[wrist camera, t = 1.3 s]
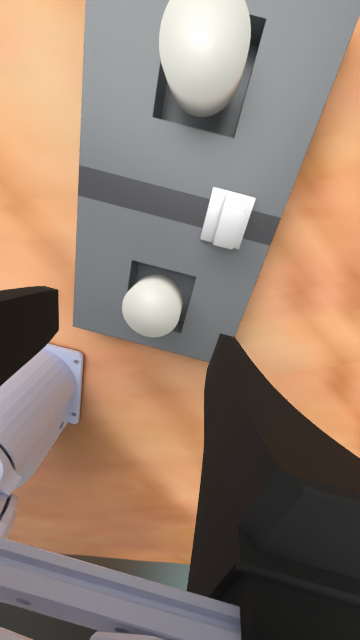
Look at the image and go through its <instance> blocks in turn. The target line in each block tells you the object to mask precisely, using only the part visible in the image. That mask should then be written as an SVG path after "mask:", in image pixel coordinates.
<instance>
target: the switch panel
mask: <svg viewBox="0 0 360 640" xmlns="http://www.w3.org/2000/svg"><path fill="white" fill-rule="evenodd" d="M169 1H170V0H86V7H85V32H84V57H83V83H82V108H81V133H80V159H79V184H78V209H77V235H76V260H75V285H74V311H73V326H74V327H77V328H81V329H85V330H89V331H93V332H96V333H100V334H104V335H108V336H112V337H116V338H119V339H123V340H127V341H131V342H135V343H138V344H142V345H146V346H150V347H154V348H158V349H161V350H165V351H169V352H173V353H177V354H181V355H184V356H188V357H192V358H196V359H200V360H203V361H207V362H210V360H211V357H212V354H213V352H214V349H215V346H216V343H217V340H218V338H219V335H220V333H221V334H225V335H229V336H232V337H235V334H236V332H237V329H238V327H239V324H240V322H241V319H242V316H243V314H244V311H245V309H246V306H247V304H248V301H249V298H250V296H251V293H252V291H253V288H254V286H255V283H256V280H257V278H258V275H259V273H260V270H261V268H262V265H263V262H264V260H265V257H266V255H267V252H268V250H269V247H270V244H271V242H272V239H273V237H274V234H275V232H276V229H277V226H278V224H279V221H280V219H281V216H282V214H283V211H284V208H285V206H286V203H287V201H288V198H289V196H290V193H291V190H292V188H293V185H294V183H295V180H296V178H297V175H298V172H299V170H300V167H301V165H302V162H303V160H304V157H305V154H306V152H307V149H308V147H309V144H310V142H311V139H312V136H313V134H314V131H315V129H316V126H317V124H318V121H319V118H320V116H321V113H322V111H323V108H324V106H325V103H326V100H327V98H328V95H329V93H330V90H331V88H332V85H333V83H334V80H335V77H336V75H337V72H338V70H339V67H340V65H341V62H342V59H343V57H344V54H345V52H346V49H347V47H348V44H349V41H350V39H351V36H352V34H353V31H354V29H355V26H356V23H357V21H358V18H359V16H360V0H245V2H246V4H247V8H248V11H249V16H250V25H251V38H250V46H249V51H248V55H247V59H246V63H245V67H244V71H243V75H242V79H241V82H240V85H239V88H238V90H237V92H236V94H235V96H234V97H233V99H232V100H231V101H230V103H229V104H228V105H227V106H226V107H225V108H224V109H223V110H221V111H220V112H218V113H216V114H214V115H211V116H208V117H196V116H193V115H190V114H188V113H186V112H185V111H184V110H182V109H181V108H180V107H179V105H178V104H177V103H176V101H175V100H174V98H173V96H172V94H171V91H170V88H169V85H168V82H167V79H166V76H165V73H164V70H163V67H162V64H161V59H160V53H159V32H160V26H161V21H162V18H163V14H164V11H165V9H166V6H167V4H168V2H169ZM213 187H215V188H219V189H223V190H227V191H231V192H235V193H238V194H242V195H246V196H250V197H254V198H256V200H255V203H254V206H253V209H252V212H251V214H250V217H249V220H248V223H247V226H246V229H245V232H244V235H243V238H242V241H241V244H240V247H239V249H235V248H233V249H232V250H231V249H227V248H224V247H220V246H216V245H213V242H209V241H205V240H201V239H200V237H201V233H202V229H203V225H204V222H205V218H206V214H207V210H208V206H209V202H210V198H211V195H212V191H213ZM148 275H162V276H165V277H168V278H169V279H171V280H172V281H174V282H175V283H176V284H177V286H178V287H179V289H180V290H181V293H182V296H183V306H182V310H181V314H180V317H179V321H178V323H177V325H176V327H175V328H174V329H173V330H172V331H171V332H170V333H168V334H166V335H164V336H161V337H146V336H143V335H141V334H139V333H137V332H135V331H134V330H133V329H132V328H131V327H130V326H129V325H128V324H127V322H126V321H125V319H124V316H123V313H122V303H123V299H124V297H125V295H126V293H127V292H128V291H129V290H130V289H131V288H132V287H133V286H134V285H135V284H136V283H137V282H138V281H139V280H140V279H142V278H143V277H145V276H148Z"/></svg>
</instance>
